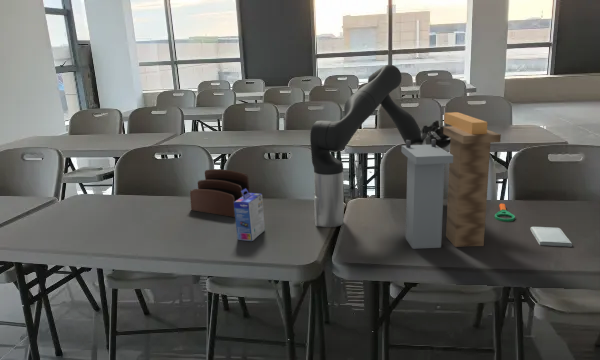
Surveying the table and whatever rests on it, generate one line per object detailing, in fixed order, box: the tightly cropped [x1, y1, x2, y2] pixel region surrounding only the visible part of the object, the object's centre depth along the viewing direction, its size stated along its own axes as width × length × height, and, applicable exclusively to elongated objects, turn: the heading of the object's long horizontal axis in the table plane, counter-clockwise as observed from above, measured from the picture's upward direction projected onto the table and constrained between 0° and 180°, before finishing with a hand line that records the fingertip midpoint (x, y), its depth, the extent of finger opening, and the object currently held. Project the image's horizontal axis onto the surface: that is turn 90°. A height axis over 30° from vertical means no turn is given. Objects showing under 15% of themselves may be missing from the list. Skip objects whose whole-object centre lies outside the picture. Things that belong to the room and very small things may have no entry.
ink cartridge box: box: [234, 188, 266, 242], centre depth 148 cm, size 10×6×14 cm, turn 161°
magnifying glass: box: [494, 203, 516, 223], centre depth 162 cm, size 15×6×2 cm, turn 162°
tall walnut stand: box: [443, 126, 502, 248], centre depth 136 cm, size 10×16×32 cm, turn 2°
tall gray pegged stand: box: [401, 139, 453, 250], centre depth 136 cm, size 10×16×29 cm, turn 2°
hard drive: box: [530, 226, 573, 248], centre depth 140 cm, size 2×8×12 cm
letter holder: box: [189, 168, 251, 218], centre depth 174 cm, size 10×20×14 cm, turn 61°
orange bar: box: [443, 111, 488, 134], centre depth 136 cm, size 4×22×3 cm, turn 2°
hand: (451, 122), depth 147 cm, fingers open, 8 cm apart
